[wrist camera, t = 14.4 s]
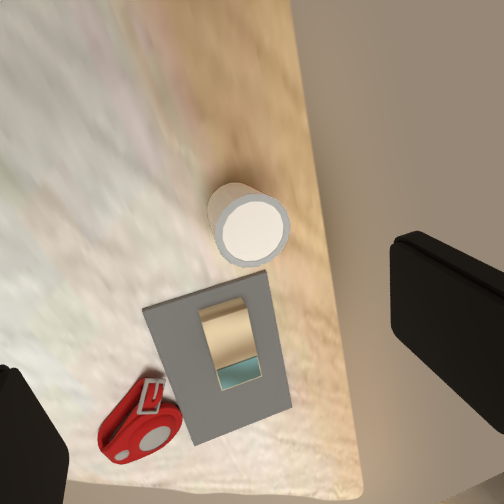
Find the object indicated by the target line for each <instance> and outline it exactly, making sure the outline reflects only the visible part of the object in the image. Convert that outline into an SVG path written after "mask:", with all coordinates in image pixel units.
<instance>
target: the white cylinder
mask: <svg viewBox="0 0 504 504" xmlns="http://www.w3.org/2000/svg"><path fill="white" fill-rule="evenodd" d="M207 216H208V219H209V222H210V226H211V229H212V232H213V235H214V239H215V242H216V244H217V247H218V249H219V251H220V254H221V255H222V256H223V257H224V258H225V259H227V260H228V261H229V262H230V263H231V264H234V265H237V266H240V267H243V268H246V267H258V266H261V265H263V264H265V263H268V262H270V261H272V260H273V259H274V258H275V257H276V256H277V255H278V254H279V253H280V252H281V251H282V250H283V248H284V246H285V244H286V242H287V240H288V238H289V231H290V221H289V217H288V214H287V210H286V209H285V208H284V207H283V206H282V205H281V203H280V202H279V201H278V200H277V199H274V198H272V197H270V196H268V195H266V194H264V193H262V192H260V191H258V190H256V189H253V188H251V187H249V186H247V185H245V184H243V183H228V184H225V185H223V186H220V187H219V188H218V189H217V190H216V191H215V192H214V193H213V194H212V195H211V198H210V200H209V202H208V204H207Z"/></svg>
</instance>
